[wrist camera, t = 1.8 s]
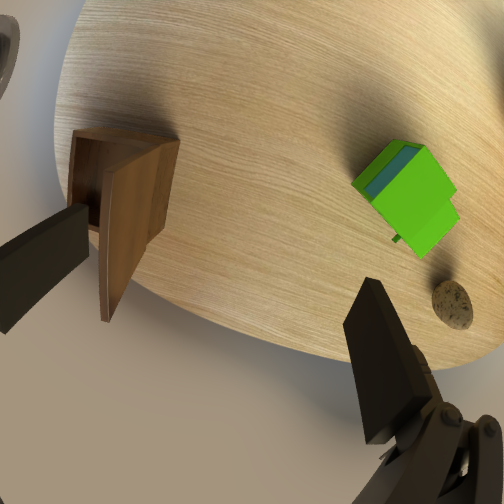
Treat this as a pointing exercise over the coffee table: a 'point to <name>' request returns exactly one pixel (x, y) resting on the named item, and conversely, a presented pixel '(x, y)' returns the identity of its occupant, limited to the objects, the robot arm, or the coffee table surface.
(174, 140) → the chest
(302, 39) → the coffee table surface
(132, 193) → the chest lid
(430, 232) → the toy car
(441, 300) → the decorative egg
